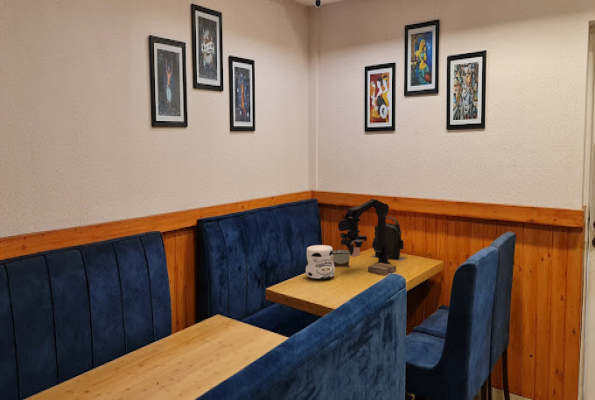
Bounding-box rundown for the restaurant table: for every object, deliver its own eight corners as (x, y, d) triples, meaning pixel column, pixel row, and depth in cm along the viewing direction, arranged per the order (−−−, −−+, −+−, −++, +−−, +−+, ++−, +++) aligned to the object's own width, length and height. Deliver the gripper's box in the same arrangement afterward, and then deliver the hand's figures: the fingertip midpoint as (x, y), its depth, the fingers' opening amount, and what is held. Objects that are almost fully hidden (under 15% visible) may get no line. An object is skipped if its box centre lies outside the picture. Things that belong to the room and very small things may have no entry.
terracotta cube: (353, 254, 291) (353, 246, 290) (359, 255, 287) (359, 247, 286) (348, 255, 287) (348, 247, 287) (354, 256, 284) (354, 248, 283)
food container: (350, 264, 304) (350, 249, 302) (351, 267, 298) (350, 251, 296) (331, 264, 305) (331, 249, 304) (331, 267, 299) (331, 252, 298)
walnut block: (380, 268, 293) (380, 262, 293) (395, 272, 284) (395, 265, 284) (368, 272, 285) (367, 266, 285) (383, 276, 276) (383, 269, 276)
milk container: (326, 283, 265) (325, 252, 263) (300, 279, 275) (299, 249, 273) (340, 275, 280) (339, 246, 278) (315, 272, 289) (314, 243, 287)
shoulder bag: (406, 258, 315) (406, 217, 312) (400, 261, 308) (400, 219, 305) (377, 254, 329) (376, 215, 326) (370, 256, 322) (370, 216, 319)
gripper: (353, 225, 297) (354, 249, 299) (333, 229, 285) (334, 254, 287) (367, 227, 289) (367, 251, 291) (347, 231, 277) (347, 257, 278)
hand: (354, 253), depth 287 cm, fingers closed on terracotta cube, 5 cm apart
